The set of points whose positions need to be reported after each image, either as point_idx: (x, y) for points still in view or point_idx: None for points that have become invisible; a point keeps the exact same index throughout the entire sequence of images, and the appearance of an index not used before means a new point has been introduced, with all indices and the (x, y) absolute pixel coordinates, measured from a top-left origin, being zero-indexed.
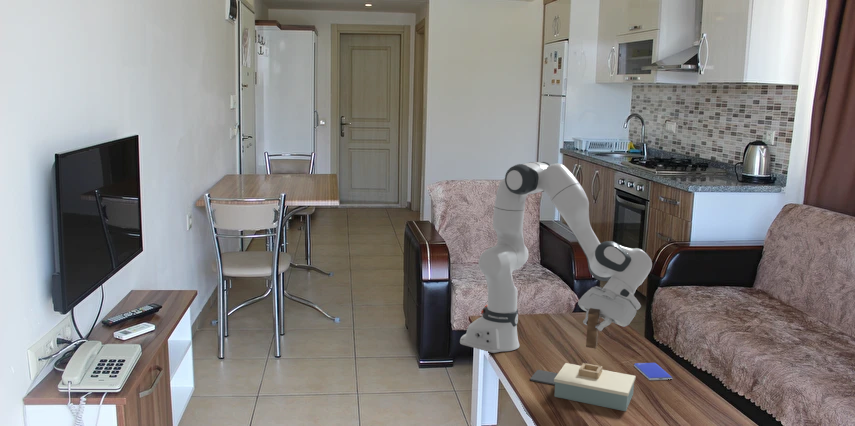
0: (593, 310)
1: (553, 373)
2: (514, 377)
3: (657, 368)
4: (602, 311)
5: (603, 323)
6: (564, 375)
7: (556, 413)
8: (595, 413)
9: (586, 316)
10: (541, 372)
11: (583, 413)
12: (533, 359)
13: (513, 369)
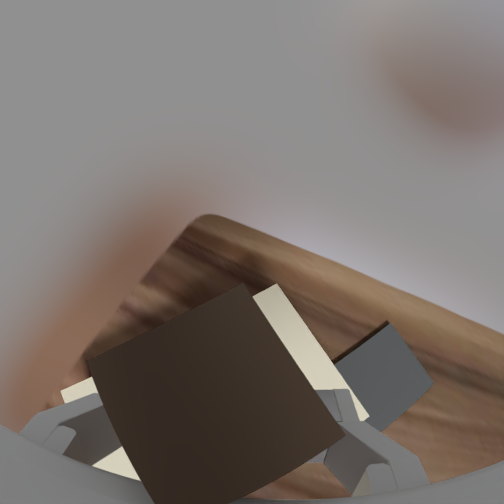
0: (195, 369)
1: (394, 411)
2: (417, 300)
3: None
4: (101, 495)
5: (79, 403)
6: (279, 331)
7: (195, 250)
8: (134, 327)
9: (362, 427)
10: (414, 381)
11: (153, 302)
12: (488, 417)
13: (457, 328)
